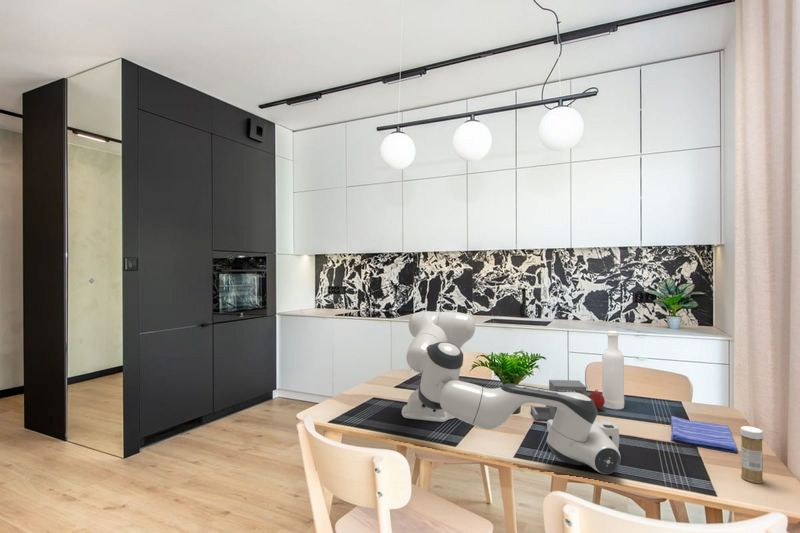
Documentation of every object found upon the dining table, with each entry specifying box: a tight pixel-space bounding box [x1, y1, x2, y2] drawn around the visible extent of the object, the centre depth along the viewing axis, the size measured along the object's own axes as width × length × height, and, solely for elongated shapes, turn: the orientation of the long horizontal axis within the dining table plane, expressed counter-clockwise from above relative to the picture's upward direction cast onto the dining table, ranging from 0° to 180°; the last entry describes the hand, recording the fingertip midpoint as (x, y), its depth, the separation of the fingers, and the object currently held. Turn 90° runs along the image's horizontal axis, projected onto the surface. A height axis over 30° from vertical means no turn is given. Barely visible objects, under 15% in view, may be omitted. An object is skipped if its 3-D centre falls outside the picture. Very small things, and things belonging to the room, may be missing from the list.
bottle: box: [601, 330, 625, 410], centre depth 170 cm, size 8×8×30 cm
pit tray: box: [530, 405, 549, 422], centre depth 158 cm, size 20×9×2 cm, turn 83°
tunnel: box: [548, 379, 587, 420], centre depth 149 cm, size 10×8×15 cm
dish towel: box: [670, 415, 738, 454], centre depth 141 cm, size 17×24×3 cm
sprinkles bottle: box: [739, 425, 764, 484], centre depth 112 cm, size 5×5×14 cm
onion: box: [588, 388, 605, 411], centre depth 166 cm, size 6×6×8 cm
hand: (574, 420), depth 140 cm, fingers open, 7 cm apart
